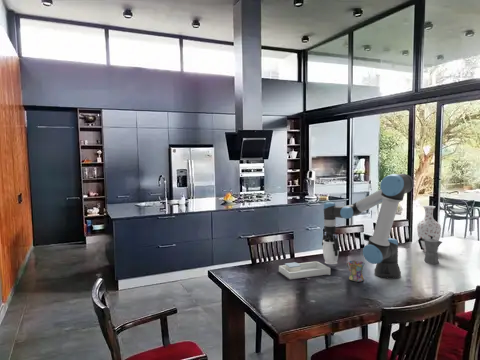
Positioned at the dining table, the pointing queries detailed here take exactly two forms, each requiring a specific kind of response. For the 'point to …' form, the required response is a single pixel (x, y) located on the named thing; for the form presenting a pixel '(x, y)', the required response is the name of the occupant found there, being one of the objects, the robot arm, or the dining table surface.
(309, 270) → the white rectangular tray
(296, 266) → the lid
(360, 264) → the candy bag
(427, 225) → the vase
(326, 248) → the jar
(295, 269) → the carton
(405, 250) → the dining table surface
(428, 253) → the coffeepot
